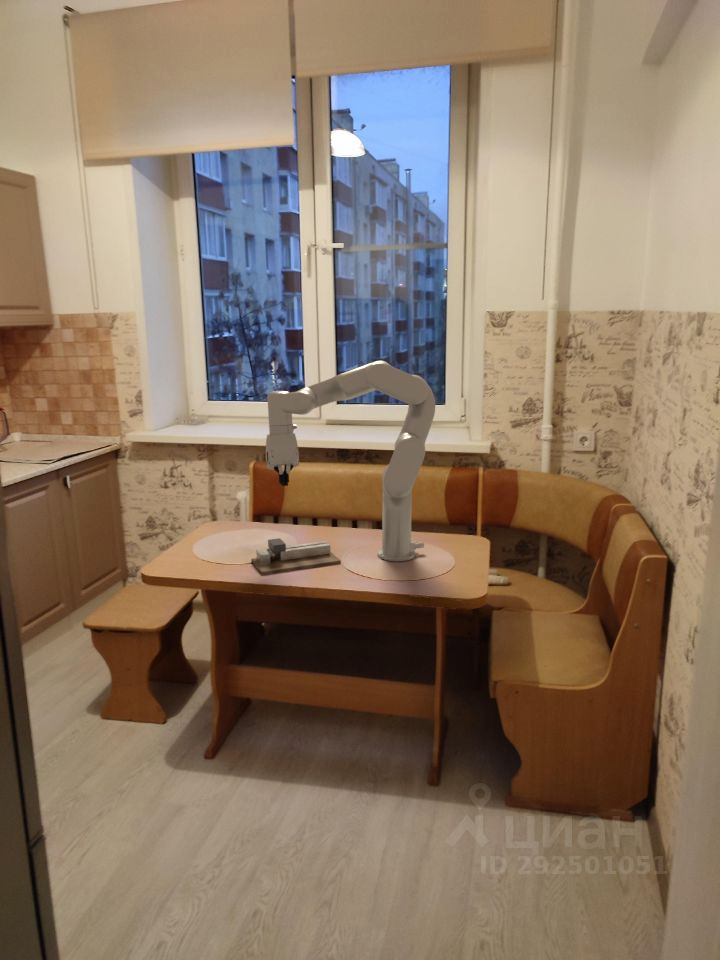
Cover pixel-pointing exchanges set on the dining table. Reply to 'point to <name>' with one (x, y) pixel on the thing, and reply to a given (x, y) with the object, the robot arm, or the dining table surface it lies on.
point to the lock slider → (276, 545)
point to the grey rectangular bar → (302, 552)
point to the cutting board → (295, 563)
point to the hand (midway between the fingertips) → (284, 485)
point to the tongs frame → (264, 554)
